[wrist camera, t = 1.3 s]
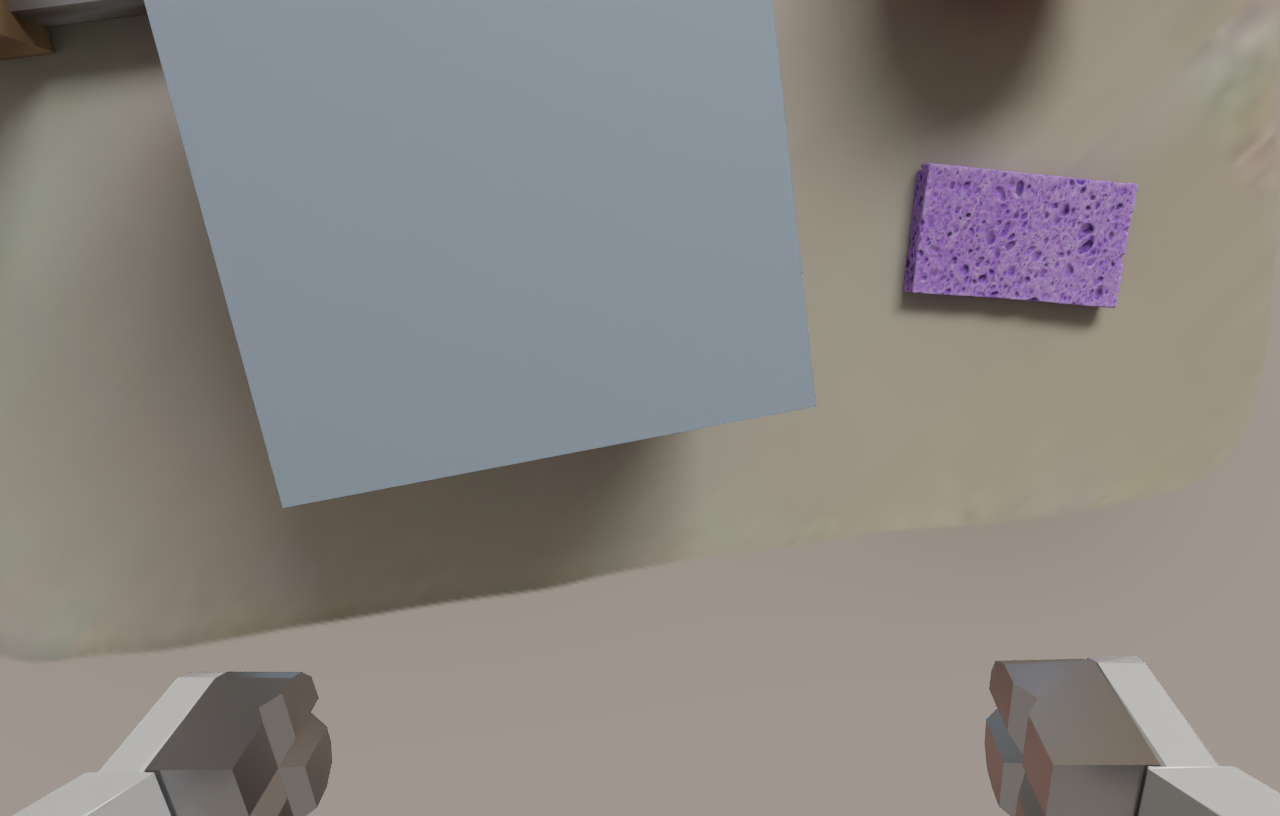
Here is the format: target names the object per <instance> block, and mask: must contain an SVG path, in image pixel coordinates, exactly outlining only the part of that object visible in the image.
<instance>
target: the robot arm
mask: <svg viewBox="0 0 1280 816" xmlns="http://www.w3.org/2000/svg"><path fill="white" fill-rule="evenodd" d="M989 689H990V692H991V694H992V696H993V699H994V701H995V703H996V706H997V709H996V710H995V711H994V712H993V713H992V714H991V715H990V716H989V717H988V718H987V719H986V730H985V752H986V762H987V770H988V774H989V777H990V781H991V785H992V789H993V791H994V794H995V797H996V800H997V802H998V805H999V807H1000V808H1002V809H1003V810H1004V811H1005V812H1007V813H1008V814H1009V815H1010V816H1280V793H1278V792H1276V791H1275V790H1273V789H1271V788H1270V787H1268V786H1266V785H1265V784H1263V783H1261V782H1260V781H1258V780H1256V779H1255V778H1253V777H1251V776H1249V775H1248V774H1246V773H1244V772H1243V771H1241V770H1239V769H1238V768H1236V767H1220V766H1219V765H1218V764H1217V762H1216V761H1215V760H1214V758H1213V757H1212V755H1211V754H1210V753H1209V751H1208V750H1207V749H1206V747H1205V746H1204V744H1203V743H1202V742H1201V740H1200V739H1199V737H1198V736H1197V735H1196V733H1195V732H1194V730H1193V729H1192V728H1191V726H1190V725H1189V724H1188V722H1187V721H1186V719H1185V718H1184V717H1183V715H1182V714H1181V712H1180V711H1179V710H1178V708H1177V707H1176V706H1175V704H1174V703H1173V701H1172V700H1171V699H1170V697H1169V696H1168V695H1167V693H1166V692H1165V690H1164V689H1163V688H1162V686H1161V685H1160V684H1159V682H1158V681H1157V679H1156V678H1155V677H1154V675H1153V674H1152V672H1151V671H1150V670H1149V668H1148V667H1147V665H1146V664H1145V663H1144V661H1142V660H1140V659H1139V658H1137V657H1135V656H1120V657H1095V658H1094V657H1093V658H1087V659H1060V660H1059V659H1057V660H1014V661H995V664H994V666H993V668H992V671H991V680H990V687H989ZM317 700H318V695H317V692H316V689H315V686H314V683H313V680H312V678H311V676H308V675H306V674H304V673H302V672H226V673H222V672H189V673H187V674H184V675H182V676H180V677H178V678H176V680H175V681H174V682H173V683H172V684H171V686H170V687H169V688H168V689H167V690H166V692H165V693H164V694H163V695H162V696H161V698H160V699H159V700H158V701H157V702H156V704H155V705H154V706H153V707H152V708H151V710H150V711H149V712H148V713H147V714H146V715H145V717H144V718H143V719H142V721H141V722H140V723H139V724H138V725H137V726H136V728H135V729H134V730H133V731H132V732H131V733H130V735H129V736H128V737H127V738H126V739H125V741H124V742H123V743H122V744H121V745H120V747H119V748H118V749H117V750H116V751H115V753H114V754H113V755H112V756H111V758H110V759H109V760H108V761H107V762H106V763H105V765H104V766H103V767H102V768H101V769H100V771H99V772H96V773H95V772H94V773H84V774H82V775H80V776H79V777H77V778H75V779H74V780H72V781H71V782H69V783H67V784H65V785H63V786H62V787H60V788H58V789H57V790H55V791H53V792H52V793H50V794H48V795H46V796H45V797H43V798H41V799H40V800H38V801H36V802H34V803H33V804H31V805H29V806H28V807H26V808H24V809H23V810H21V811H19V812H18V813H16V814H14V815H12V816H306V815H308V814H309V813H310V812H311V811H313V810H314V809H315V808H317V806H318V804H319V802H320V800H321V798H322V795H323V793H324V791H325V789H326V787H327V783H328V778H329V773H330V768H331V764H332V753H331V741H330V737H329V734H328V730H327V727H326V726H325V725H324V724H323V723H322V722H321V721H320V720H319V719H318V718H316V717H315V716H314V715H313V714H312V713H311V710H312V709H313V707H314V705H315V703H316V701H317Z"/></svg>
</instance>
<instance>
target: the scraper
mask: <svg viewBox="0 0 1280 816" xmlns="http://www.w3.org/2000/svg"><path fill="white" fill-rule="evenodd" d="M141 14H147V10H146V7H145V3H144V0H0V60H7V59H15V58H22V57H30V56H37V55H45V54H52V53H55V50H54V47H53V43H52V40H51V37H50V33H49V30H48V26H55V25H63V24H71V23H79V22H86V21H94V20H102V19H110V18H118V17H125V16H133V15H141Z"/></svg>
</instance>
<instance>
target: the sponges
mask: <svg viewBox="0 0 1280 816" xmlns="http://www.w3.org/2000/svg"><path fill="white" fill-rule="evenodd" d="M921 166H922V170H920V171H919V172H918V174H917V175H916V180H915V191H914V193H915V197H914V200H913V208H912V219H911V225H910V238H911V244H910V246H909V249H908V253H907V265H906V268H905V275H904V283H903V291H905V292H911V293H923V294H939V295H954V296H974V297H991V298H1001V299H1016V300H1029V301H1038V302H1051V303H1060V304H1071V305H1082V306H1096V307H1109V308H1115V307H1116V303H1117V298H1118V292H1119V285H1120V282H1121V276H1122V271H1123V264H1122V262H1121V257H1122V255H1123V254H1125V253H1126V245H1127V240H1128V237H1129V234H1128V231H1127V230H1128V228H1129V226H1130V220H1131V218H1132V216H1131V213H1132V212H1133V210H1134V206H1135V195H1136V192H1137V189H1138V184H1135V183H1116V182H1110V181H1094V180H1088V179H1087V180H1085V179H1074V178H1070V177H1060V176H1055V175H1048V176H1047V175H1039V174H1030V173H1023V172H1012V171H1001V170H993V169H985V168H972V167H964V166H953V165H944V164H932V163H924V164H922V165H921Z"/></svg>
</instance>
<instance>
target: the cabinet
mask: <svg viewBox="0 0 1280 816" xmlns="http://www.w3.org/2000/svg"><path fill="white" fill-rule="evenodd" d="M144 3H145V7H146V10H147V14H148V18H149V21H150V25H151V29H152V32H153V36H154V40H155V43H156V47H157V51H158V54H159V58H160V62H161V65H162V69H163V73H164V76H165V80H166V84H167V87H168V91H169V95H170V98H171V102H172V105H173V109H174V113H175V116H176V120H177V124H178V127H179V131H180V135H181V138H182V142H183V146H184V149H185V153H186V157H187V160H188V164H189V168H190V171H191V175H192V179H193V182H194V186H195V190H196V193H197V197H198V201H199V204H200V208H201V212H202V215H203V219H204V223H205V226H206V230H207V234H208V237H209V241H210V244H211V248H212V252H213V255H214V259H215V263H216V266H217V270H218V274H219V277H220V281H221V285H222V288H223V292H224V296H225V299H226V303H227V307H228V310H229V314H230V318H231V321H232V325H233V329H234V332H235V336H236V340H237V343H238V347H239V351H240V354H241V358H242V362H243V365H244V369H245V373H246V376H247V380H248V384H249V387H250V391H251V394H252V398H253V402H254V405H255V409H256V413H257V416H258V420H259V424H260V427H261V431H262V435H263V438H264V442H265V446H266V449H267V453H268V457H269V460H270V464H271V468H272V471H273V475H274V479H275V482H276V486H277V490H278V493H279V497H280V501H281V504H282V508H286V507H291V506H297V505H302V504H307V503H312V502H318V501H323V500H328V499H333V498H339V497H344V496H349V495H354V494H360V493H365V492H370V491H375V490H381V489H386V488H391V487H396V486H401V485H407V484H412V483H417V482H422V481H428V480H433V479H438V478H443V477H449V476H454V475H459V474H464V473H470V472H475V471H480V470H485V469H491V468H496V467H501V466H506V465H512V464H517V463H522V462H527V461H533V460H538V459H543V458H548V457H553V456H559V455H564V454H569V453H574V452H580V451H585V450H590V449H595V448H601V447H606V446H611V445H616V444H622V443H627V442H632V441H637V440H643V439H648V438H653V437H658V436H664V435H669V434H674V433H679V432H684V431H690V430H695V429H700V428H705V427H711V426H716V425H721V424H726V423H732V422H737V421H742V420H747V419H753V418H758V417H763V416H768V415H774V414H779V413H784V412H789V411H795V410H800V409H805V408H810V407H815V406H816V400H815V390H814V381H813V372H812V362H811V353H810V344H809V334H808V325H807V316H806V306H805V297H804V288H803V278H802V269H801V260H800V250H799V241H798V231H797V222H796V213H795V203H794V194H793V185H792V175H791V166H790V157H789V147H788V138H787V129H786V119H785V110H784V101H783V91H782V82H781V73H780V63H779V54H778V45H777V35H776V26H775V16H774V7H773V0H144Z"/></svg>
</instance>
